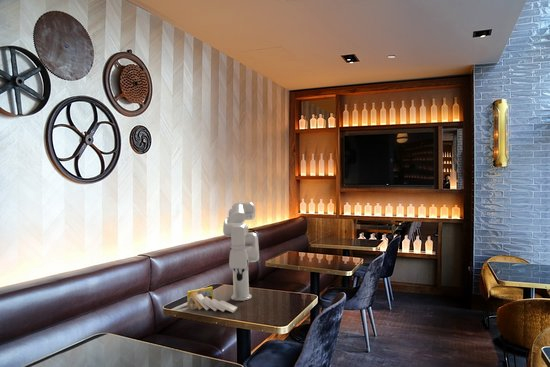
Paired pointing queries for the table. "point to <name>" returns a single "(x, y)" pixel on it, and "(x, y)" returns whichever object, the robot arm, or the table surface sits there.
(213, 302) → the domino
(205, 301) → the domino
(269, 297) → the table surface
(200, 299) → the domino
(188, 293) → the candy box
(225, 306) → the domino
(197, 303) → the domino
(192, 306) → the end block
